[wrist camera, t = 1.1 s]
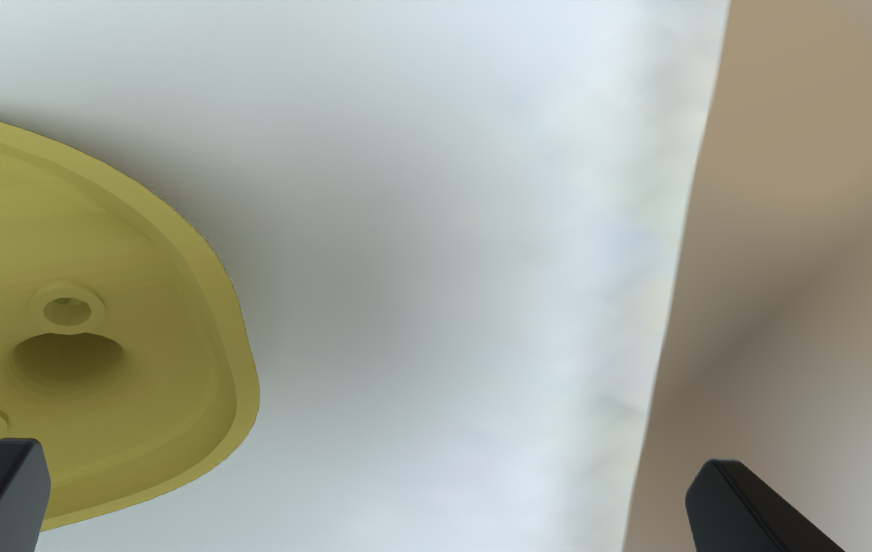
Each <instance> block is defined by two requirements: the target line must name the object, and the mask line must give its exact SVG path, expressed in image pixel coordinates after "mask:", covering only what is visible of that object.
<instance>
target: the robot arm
mask: <svg viewBox="0 0 872 552" xmlns="http://www.w3.org/2000/svg"><path fill="white" fill-rule="evenodd" d="M50 492H51V479H50V475H49V471H48V467H47V463H46V460H45V456H44V452H43V448H42V445H41V443H40V442H39V441H38V440H37V439H34V438H12V437H7V438H2V439H0V552H34V550H35V547H36V543H37V540H38V536H39V533H40V529H41V526H42V522H43V519H44V515H45V512H46V508H47V505H48V501H49V498H50ZM685 505H686V511H687V515H688V519H689V523H690V527H691V531H692V535H693V540H694V543H695V547H696V552H845V551H844V550H843V549H842V548H840V547H839V546H838V545H837V544H836V543H835V542H833V541H832V540H831V539H830V538H829V537H827V536H826V535H825V534H824V533H823V532H822V531H821V530H819V529H818V528H817V527H816V526H815V525H814V524H812V523H811V522H810V521H809V520H808V519H807V518H805V517H804V516H803V515H802V514H801V513H799V512H798V511H797V510H796V509H795V508H794V507H793V506H791V505H790V504H789V503H788V502H787V501H786V500H784V499H783V498H782V497H781V496H780V495H778V494H777V493H776V492H775V491H774V490H773V489H772V488H771V487H769V486H768V485H767V484H766V483H765V482H763V481H762V480H761V479H760V478H759V477H758V476H757V475H755V474H754V473H753V472H752V471H750V469H748V468H747V467H746V466H745V465H744V464H742V463H741V462H740V461H738V460H735V459H730V458H711V459H709V460H707V461H706V462H705V463H704V464H703V466H702V468H701V469H700V471H699V472H698V474H697V475H696V477H695V479H694V480H693V482H692V483H691V485H690V487H689V488H688V490H687V492H686V497H685Z"/></svg>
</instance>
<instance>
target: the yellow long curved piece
mask: <svg viewBox="0 0 872 552" xmlns="http://www.w3.org/2000/svg"><path fill="white" fill-rule="evenodd" d="M259 390H260V389H259V383H258V377H257V373H256V368H255V364H254V360H253V357H252V353H251V349H250V346H249V342H248V338H247V334H246V330H245V326H244V322H243V318H242V314H241V310H240V305H239V301H238V298H237V295H236V293H235V290H234V288H233V285H232V283H231V281H230V279H229V277H228V275H227V273H226V271H225V269H224V268H223V266H222V264H221V262H220V260H219V258H218V257H217V255H216V254H215V252H214V251H213V250H212V248H211V247H210V246H209V244H208V243H207V242H206V240H205V239H204V238H203V237H202V236H201V235H200V234H199V233H198V232H197V231H196V230H195V229H194V228H193V227H192V226H191V225H190V224H189V223H188V222H187V221H186V220H185V219H184V218H183V217H181V216H180V215H179V214H178V213H177V212H176V211H175V210H174V209H173V208H172V207H170V206H169V205H168V204H167V203H165V202H164V201H163V200H161V199H160V198H159V197H157V196H156V195H155V194H153V193H152V192H151V191H149V190H148V189H147V188H145V187H144V186H143V185H141V184H140V183H139V182H137V181H135V180H133V179H132V178H130V177H128V176H127V175H125V174H123V173H121V172H120V171H118V170H116V169H114V168H113V167H111V166H109V165H108V164H106V163H104V162H102V161H100V160H98V159H96V158H94V157H91V156H89V155H87V154H85V153H83V152H81V151H79V150H76V149H74V148H72V147H70V146H68V145H66V144H63V143H60V142H58V141H55V140H52V139H49V138H47V137H44V136H41V135H39V134H36V133H33V132H30V131H28V130H25V129H22V128H19V127H15V126H12V125H8V124H5V123H1V122H0V439H2V438H7V437H12V438H34V439H37V440H38V441H39V442H40V443H41V445H42V448H43V452H44V456H45V460H46V463H47V467H48V471H49V475H50V479H51V492H50V498H49V501H48V505H47V508H46V512H45V515H44V519H43V522H42V526H41V529H40V532H42V531H46V530H50V529H53V528H57V527H61V526H65V525H68V524H72V523H76V522H80V521H83V520H87V519H90V518H93V517H97V516H100V515H104V514H107V513H111V512H114V511H117V510H120V509H123V508H126V507H129V506H132V505H135V504H139V503H142V502H145V501H148V500H150V499H153V498H155V497H158V496H160V495H163V494H165V493H168V492H170V491H173V490H175V489H177V488H179V487H181V486H183V485H185V484H187V483H189V482H191V481H193V480H195V479H197V478H198V477H200V476H202V475H204V474H205V473H207V472H209V471H210V470H212V469H213V468H214V467H215V466H217V465H218V464H219V463H221V462H222V461H223V460H225V459H226V458H227V457H228V456H229V455H230V454H231V453H232V452H233V451H234V450H235V449H236V448H237V447H238V446H239V445H240V444H241V443H242V441H243V440H244V439H245V437H246V436H247V435H248V433H249V431H250V429H251V428H252V426H253V424H254V422H255V419H256V416H257V412H258V409H259Z"/></svg>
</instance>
